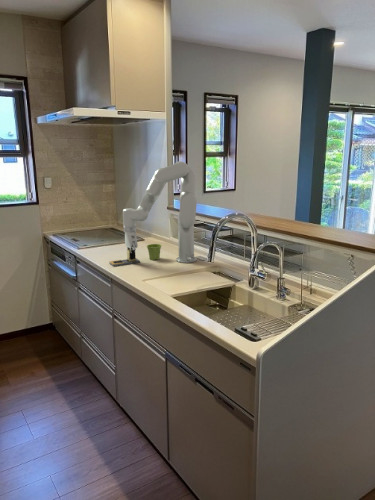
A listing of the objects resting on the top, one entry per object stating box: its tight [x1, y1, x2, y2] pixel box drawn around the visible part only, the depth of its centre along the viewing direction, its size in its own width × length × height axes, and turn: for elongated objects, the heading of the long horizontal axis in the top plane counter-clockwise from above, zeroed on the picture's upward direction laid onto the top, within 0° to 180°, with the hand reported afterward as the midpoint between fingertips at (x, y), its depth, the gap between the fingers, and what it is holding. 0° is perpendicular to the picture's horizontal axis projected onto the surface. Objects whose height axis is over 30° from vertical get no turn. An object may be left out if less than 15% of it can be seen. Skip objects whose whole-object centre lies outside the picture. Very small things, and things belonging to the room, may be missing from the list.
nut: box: [126, 248, 137, 262], centre depth 246 cm, size 4×4×8 cm
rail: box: [109, 257, 141, 267], centre depth 245 cm, size 17×7×1 cm, turn 117°
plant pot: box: [146, 243, 162, 261], centre depth 253 cm, size 9×9×9 cm
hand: (131, 258), depth 247 cm, fingers closed on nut, 4 cm apart
